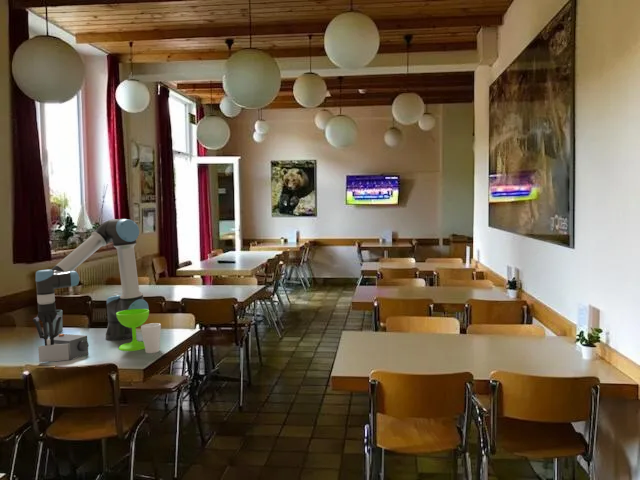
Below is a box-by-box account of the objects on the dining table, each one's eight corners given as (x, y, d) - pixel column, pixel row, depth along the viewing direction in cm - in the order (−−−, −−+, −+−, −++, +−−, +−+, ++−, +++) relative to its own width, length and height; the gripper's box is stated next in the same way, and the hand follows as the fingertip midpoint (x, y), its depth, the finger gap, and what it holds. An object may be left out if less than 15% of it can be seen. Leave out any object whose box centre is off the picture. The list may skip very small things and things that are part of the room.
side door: (71, 358, 275) (70, 343, 274) (70, 359, 274) (69, 343, 273) (39, 361, 272) (38, 346, 272) (39, 362, 271) (38, 346, 271)
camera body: (91, 354, 285) (90, 334, 284) (73, 360, 274) (72, 339, 274) (63, 351, 292) (62, 332, 291) (45, 357, 281) (44, 337, 281)
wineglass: (118, 352, 285) (115, 316, 284) (118, 345, 300) (116, 310, 299) (152, 348, 290) (149, 312, 289) (150, 341, 305) (148, 307, 304)
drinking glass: (67, 330, 342) (65, 310, 341) (51, 334, 334) (49, 313, 333) (57, 329, 348) (55, 309, 347) (41, 332, 339) (39, 312, 338)
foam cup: (151, 354, 278) (149, 328, 277) (138, 352, 283) (136, 326, 282) (166, 350, 286) (164, 323, 285) (153, 348, 291) (151, 322, 290)
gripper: (63, 300, 278) (66, 349, 280) (34, 302, 276) (37, 351, 278) (58, 303, 271) (62, 353, 273) (29, 305, 269) (32, 355, 271)
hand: (50, 352), depth 275 cm, fingers closed
